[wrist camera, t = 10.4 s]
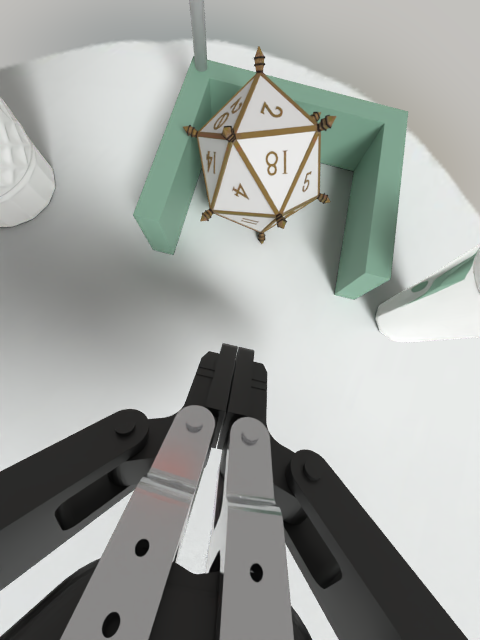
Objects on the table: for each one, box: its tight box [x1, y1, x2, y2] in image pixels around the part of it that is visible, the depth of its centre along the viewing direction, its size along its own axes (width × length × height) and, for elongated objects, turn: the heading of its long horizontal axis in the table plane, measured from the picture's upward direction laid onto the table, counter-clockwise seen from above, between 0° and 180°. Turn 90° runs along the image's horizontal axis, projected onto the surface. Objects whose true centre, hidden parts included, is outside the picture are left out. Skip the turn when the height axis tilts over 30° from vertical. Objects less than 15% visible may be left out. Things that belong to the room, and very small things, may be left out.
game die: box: [183, 47, 337, 244], centre depth 15 cm, size 9×8×10 cm
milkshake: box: [375, 244, 480, 342], centre depth 13 cm, size 4×5×10 cm
